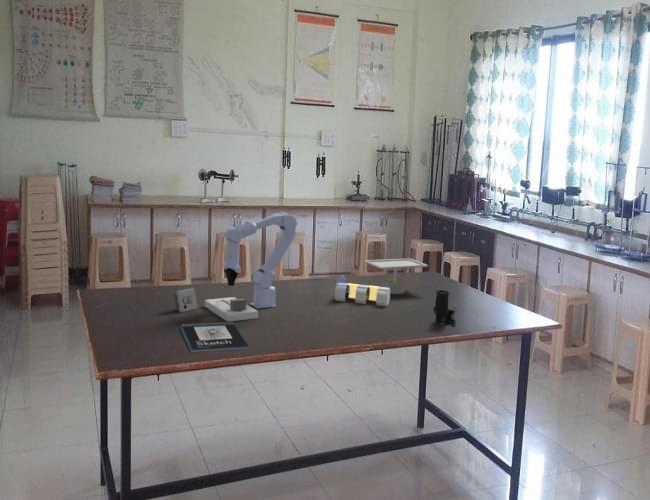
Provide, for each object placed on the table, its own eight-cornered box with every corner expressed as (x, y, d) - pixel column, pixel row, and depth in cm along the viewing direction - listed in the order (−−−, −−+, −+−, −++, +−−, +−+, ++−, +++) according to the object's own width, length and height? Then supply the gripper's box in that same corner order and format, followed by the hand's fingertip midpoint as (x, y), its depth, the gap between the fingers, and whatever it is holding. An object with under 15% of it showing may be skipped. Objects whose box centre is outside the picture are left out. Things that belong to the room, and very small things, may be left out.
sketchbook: (190, 353, 242) (191, 348, 241) (180, 328, 269) (180, 323, 269) (250, 349, 249) (250, 344, 248) (233, 325, 277) (233, 320, 276)
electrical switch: (180, 313, 289) (179, 291, 287) (173, 311, 292) (172, 290, 291) (197, 309, 296) (196, 288, 295) (190, 308, 299) (189, 287, 298)
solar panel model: (408, 285, 360) (410, 258, 358) (425, 293, 345) (428, 265, 342) (362, 288, 349) (364, 260, 346) (378, 297, 333) (380, 267, 331)
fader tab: (243, 307, 290) (243, 298, 289) (246, 309, 287) (246, 299, 287) (230, 308, 287) (230, 299, 286) (233, 310, 284) (233, 301, 284)
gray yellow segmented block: (334, 301, 322) (335, 274, 320) (339, 296, 332) (340, 270, 330) (386, 307, 316) (388, 280, 314) (389, 302, 326) (391, 275, 324)
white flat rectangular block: (233, 303, 308) (234, 296, 307) (258, 318, 287) (258, 311, 286) (204, 306, 301) (205, 299, 300) (227, 321, 280) (227, 314, 279)
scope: (459, 292, 293) (444, 295, 287) (456, 323, 296) (441, 326, 289) (445, 288, 299) (429, 290, 293) (442, 318, 302) (427, 321, 295)
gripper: (217, 252, 299) (215, 282, 302) (231, 258, 288) (229, 289, 290) (231, 251, 303) (230, 281, 306) (246, 258, 291) (244, 288, 294)
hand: (231, 285), depth 298 cm, fingers closed
